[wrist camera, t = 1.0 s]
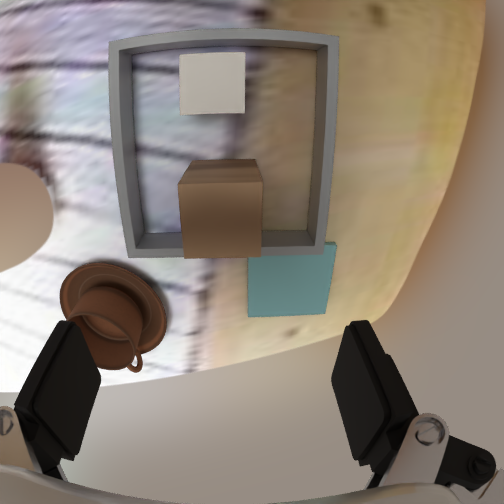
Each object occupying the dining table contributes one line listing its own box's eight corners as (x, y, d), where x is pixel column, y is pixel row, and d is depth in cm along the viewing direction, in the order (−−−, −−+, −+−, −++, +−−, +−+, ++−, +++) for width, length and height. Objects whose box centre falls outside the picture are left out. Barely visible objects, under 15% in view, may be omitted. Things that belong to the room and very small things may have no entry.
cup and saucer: (192, 306, 31) (186, 350, 25) (132, 358, 34) (121, 397, 29) (98, 231, 26) (70, 265, 21) (52, 300, 30) (29, 335, 24)
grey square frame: (122, 47, 18) (108, 42, 16) (326, 42, 19) (339, 36, 17) (137, 241, 27) (128, 257, 24) (314, 238, 28) (323, 254, 25)
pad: (248, 243, 27) (248, 246, 27) (335, 242, 28) (336, 245, 27) (247, 313, 31) (247, 317, 31) (323, 310, 32) (325, 313, 31)
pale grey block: (190, 63, 20) (179, 54, 16) (242, 61, 20) (245, 52, 16) (190, 111, 22) (180, 115, 17) (242, 110, 22) (244, 113, 18)
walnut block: (192, 160, 24) (177, 184, 18) (254, 159, 24) (262, 182, 18) (195, 217, 26) (184, 258, 20) (254, 216, 26) (260, 257, 20)
